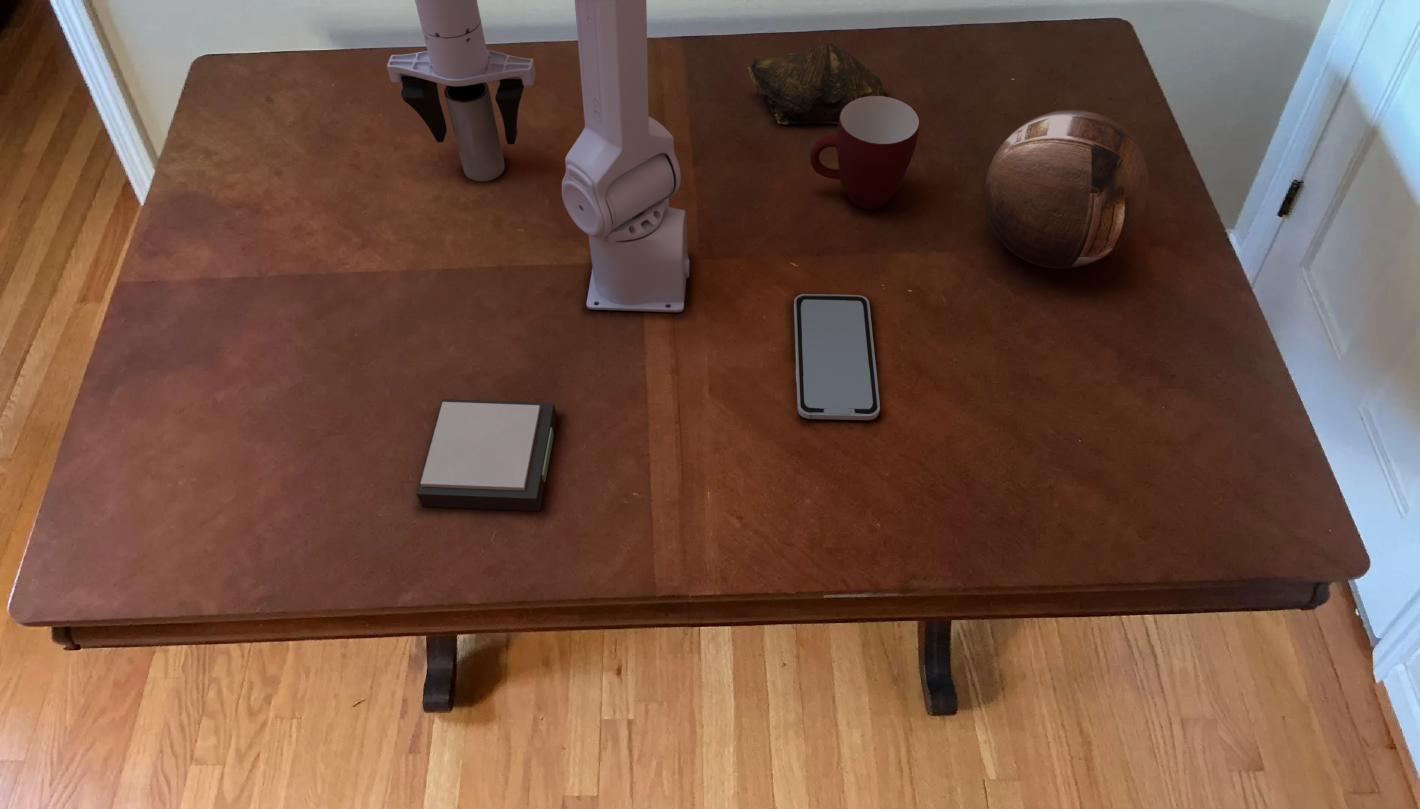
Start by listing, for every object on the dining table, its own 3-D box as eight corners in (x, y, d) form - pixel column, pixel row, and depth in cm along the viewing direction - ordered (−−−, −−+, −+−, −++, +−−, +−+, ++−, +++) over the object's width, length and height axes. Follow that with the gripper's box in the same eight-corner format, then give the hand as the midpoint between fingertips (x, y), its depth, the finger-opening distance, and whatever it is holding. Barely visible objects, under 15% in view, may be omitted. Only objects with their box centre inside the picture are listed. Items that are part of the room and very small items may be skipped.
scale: (558, 416, 89) (555, 399, 87) (541, 511, 83) (537, 495, 81) (446, 412, 90) (440, 395, 88) (421, 506, 84) (414, 490, 82)
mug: (809, 223, 105) (817, 145, 97) (804, 173, 110) (811, 95, 102) (909, 222, 105) (925, 144, 97) (900, 172, 110) (914, 94, 102)
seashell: (881, 76, 120) (891, 32, 114) (886, 135, 117) (898, 94, 110) (745, 75, 120) (748, 31, 114) (746, 135, 116) (750, 93, 110)
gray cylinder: (497, 184, 109) (479, 104, 101) (458, 179, 110) (437, 99, 102) (510, 158, 112) (494, 78, 104) (472, 153, 112) (453, 73, 104)
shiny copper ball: (965, 195, 108) (996, 73, 96) (1106, 203, 107) (1155, 81, 95) (976, 295, 98) (1012, 174, 87) (1131, 304, 98) (1188, 183, 86)
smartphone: (868, 295, 97) (881, 415, 88) (867, 301, 98) (880, 421, 89) (793, 293, 98) (797, 414, 88) (792, 299, 98) (797, 420, 89)
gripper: (531, 1, 99) (549, 116, 110) (387, -3, 99) (419, 113, 110) (520, 41, 95) (539, 157, 105) (369, 37, 95) (403, 153, 106)
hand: (477, 137), depth 107 cm, fingers open, 7 cm apart
